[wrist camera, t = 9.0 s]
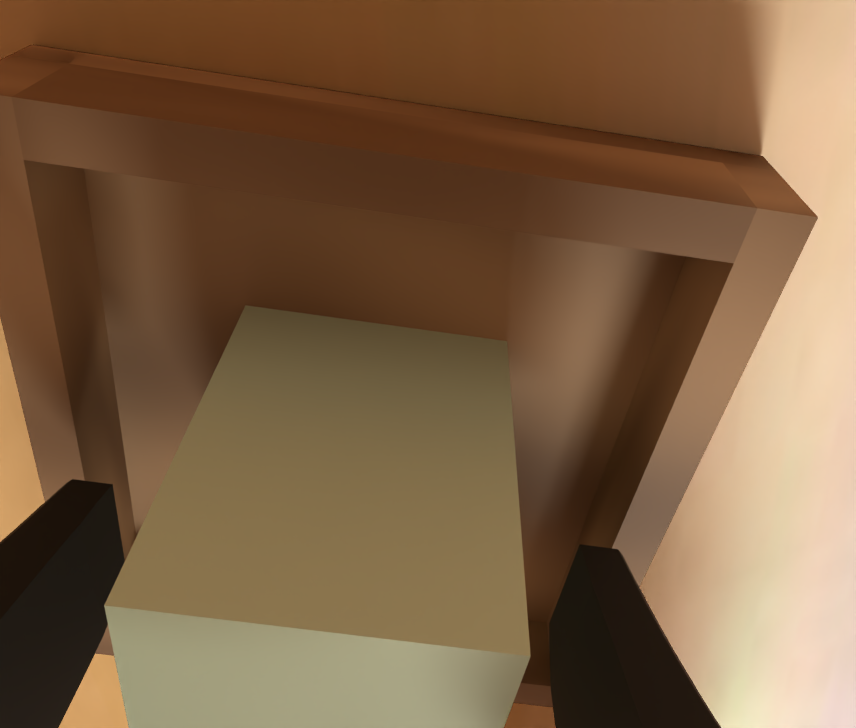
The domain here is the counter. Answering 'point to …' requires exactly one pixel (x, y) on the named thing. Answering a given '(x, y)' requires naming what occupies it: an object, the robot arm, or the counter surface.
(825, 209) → the counter surface
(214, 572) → the sage block
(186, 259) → the walnut tray
